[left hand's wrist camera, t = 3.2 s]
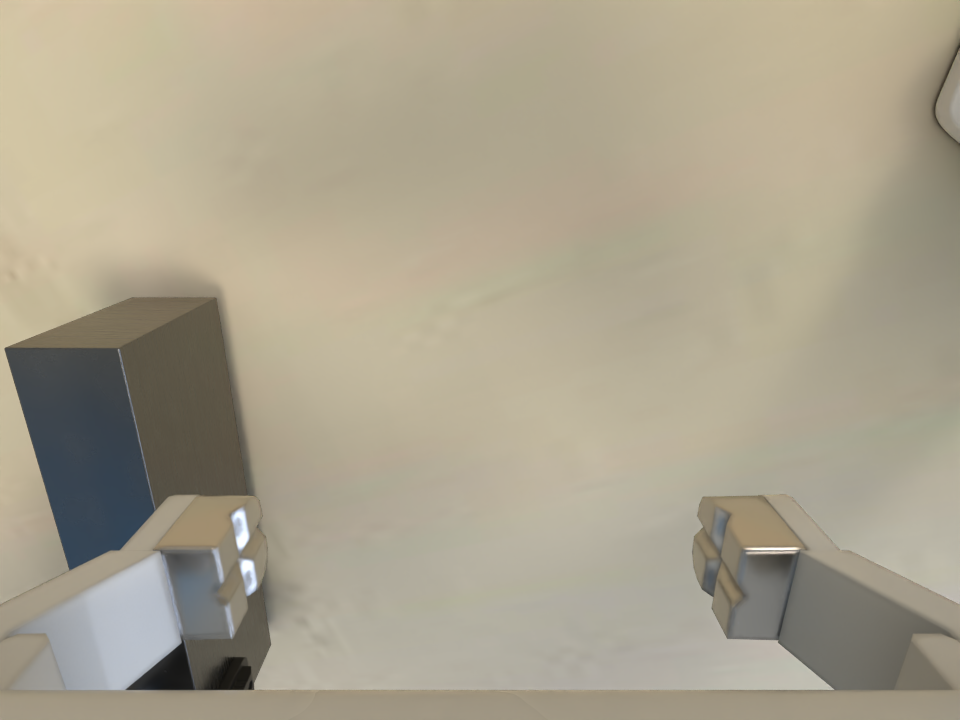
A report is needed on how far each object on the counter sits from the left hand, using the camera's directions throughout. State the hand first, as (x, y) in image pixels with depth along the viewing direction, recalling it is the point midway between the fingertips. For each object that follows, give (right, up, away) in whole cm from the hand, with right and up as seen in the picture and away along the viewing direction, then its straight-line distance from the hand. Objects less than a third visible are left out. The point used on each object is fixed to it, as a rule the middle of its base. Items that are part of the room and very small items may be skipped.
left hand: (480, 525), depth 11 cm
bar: (-18, -6, +28) cm, 33 cm away
